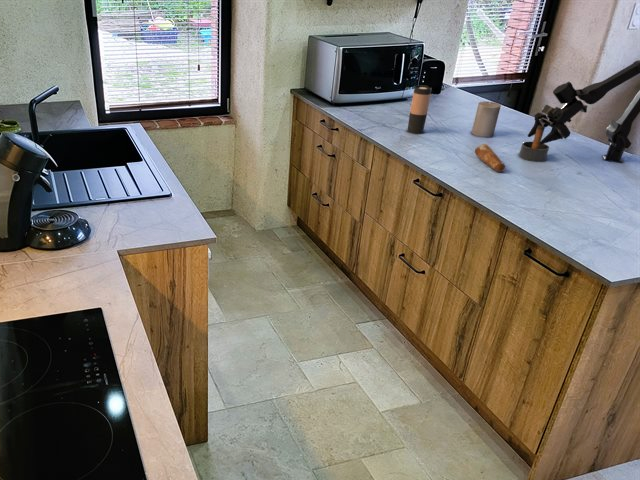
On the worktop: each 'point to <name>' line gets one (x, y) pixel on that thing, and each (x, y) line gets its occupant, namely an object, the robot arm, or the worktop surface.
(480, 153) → the bread
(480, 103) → the pillar candle
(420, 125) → the travel mug
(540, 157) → the bowl
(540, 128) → the stick
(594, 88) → the robot arm
